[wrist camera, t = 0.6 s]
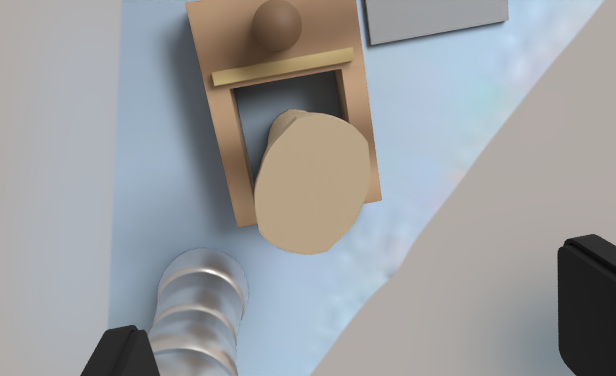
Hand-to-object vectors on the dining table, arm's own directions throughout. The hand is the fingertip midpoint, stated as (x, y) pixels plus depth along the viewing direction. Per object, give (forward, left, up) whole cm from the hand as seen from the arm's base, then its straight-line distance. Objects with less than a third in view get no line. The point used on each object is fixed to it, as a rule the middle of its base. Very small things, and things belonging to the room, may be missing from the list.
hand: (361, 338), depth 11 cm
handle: (0, 0, -26) cm, 26 cm away
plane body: (-2, 0, -26) cm, 26 cm away
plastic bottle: (+10, -9, -26) cm, 30 cm away
